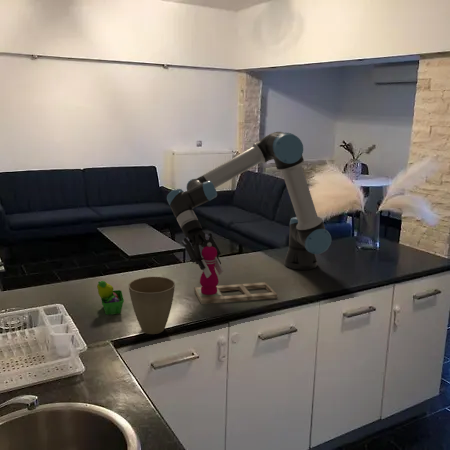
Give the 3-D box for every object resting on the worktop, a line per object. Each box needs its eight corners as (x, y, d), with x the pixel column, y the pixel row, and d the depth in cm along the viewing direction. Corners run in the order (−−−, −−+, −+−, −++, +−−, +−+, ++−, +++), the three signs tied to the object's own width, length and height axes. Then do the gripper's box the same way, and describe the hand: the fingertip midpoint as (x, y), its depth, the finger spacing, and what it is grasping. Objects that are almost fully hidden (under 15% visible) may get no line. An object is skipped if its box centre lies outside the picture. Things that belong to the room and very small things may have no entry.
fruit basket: (124, 314, 178) (123, 284, 175) (98, 317, 176) (97, 286, 173) (121, 302, 189) (120, 274, 186) (97, 304, 186) (96, 276, 184)
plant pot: (132, 320, 173) (131, 276, 170) (176, 320, 174) (175, 276, 170) (127, 340, 159) (125, 292, 155) (174, 339, 160) (174, 292, 156)
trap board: (265, 285, 209) (265, 281, 208) (277, 298, 195) (277, 293, 195) (194, 291, 201) (194, 286, 201) (201, 304, 188) (201, 299, 188)
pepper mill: (197, 290, 197) (197, 240, 193) (214, 287, 200) (214, 239, 195) (203, 296, 191) (203, 245, 186) (221, 294, 194) (221, 244, 189)
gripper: (203, 226, 208) (229, 274, 199) (166, 232, 196) (191, 284, 188) (212, 215, 202) (238, 264, 194) (174, 222, 191) (200, 274, 182)
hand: (215, 274), depth 191 cm, fingers open, 5 cm apart
